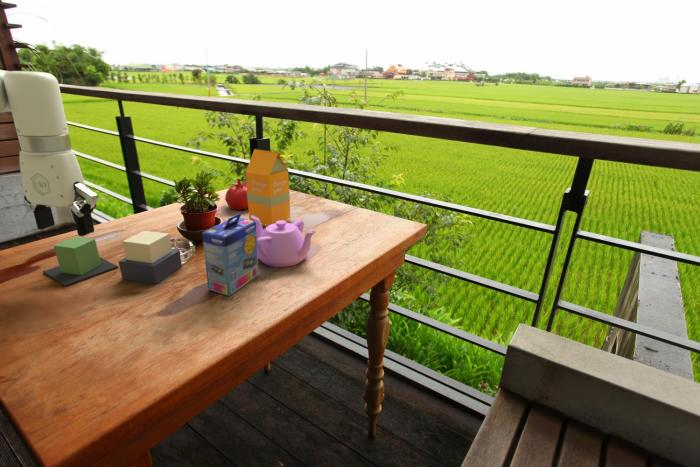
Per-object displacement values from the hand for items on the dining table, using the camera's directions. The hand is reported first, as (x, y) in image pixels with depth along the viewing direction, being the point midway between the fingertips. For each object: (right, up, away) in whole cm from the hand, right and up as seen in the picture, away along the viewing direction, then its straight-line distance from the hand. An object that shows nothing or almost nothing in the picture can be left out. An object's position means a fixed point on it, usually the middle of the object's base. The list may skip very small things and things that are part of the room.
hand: (66, 230), depth 77 cm
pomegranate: (+23, +8, +45) cm, 51 cm away
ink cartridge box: (+34, -11, 0) cm, 36 cm away
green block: (+1, -8, +3) cm, 9 cm away
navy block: (+16, -9, +3) cm, 18 cm away
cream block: (+16, -5, +2) cm, 17 cm away
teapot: (+42, -6, +11) cm, 43 cm away
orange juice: (+34, +3, +33) cm, 48 cm away
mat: (+1, -8, +3) cm, 9 cm away
